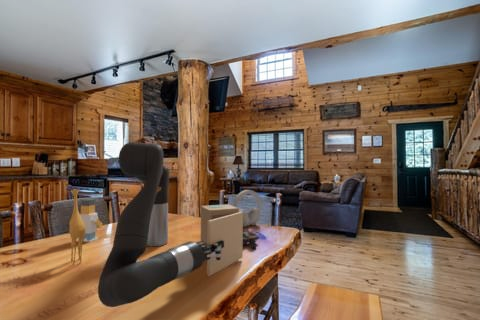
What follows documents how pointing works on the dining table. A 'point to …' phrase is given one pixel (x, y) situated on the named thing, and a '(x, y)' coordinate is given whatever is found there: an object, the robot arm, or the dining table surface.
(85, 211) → the character figure
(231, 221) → the flap
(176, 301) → the dining table surface
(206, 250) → the robot arm
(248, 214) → the headphones
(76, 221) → the giraffe
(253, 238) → the figurine
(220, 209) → the carton
